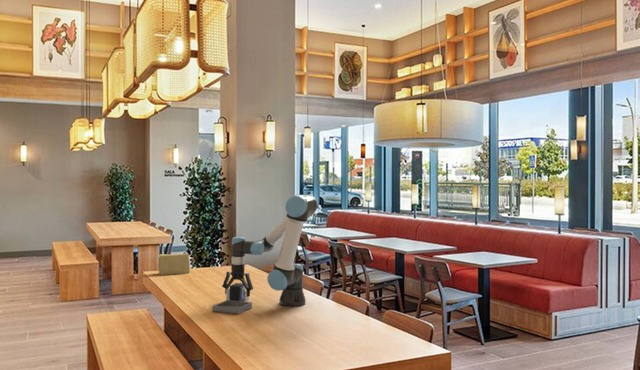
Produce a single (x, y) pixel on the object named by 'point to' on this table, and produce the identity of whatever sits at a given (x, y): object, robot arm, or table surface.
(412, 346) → the table surface
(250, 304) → the tray
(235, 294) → the small box
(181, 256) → the olive rectangular block
